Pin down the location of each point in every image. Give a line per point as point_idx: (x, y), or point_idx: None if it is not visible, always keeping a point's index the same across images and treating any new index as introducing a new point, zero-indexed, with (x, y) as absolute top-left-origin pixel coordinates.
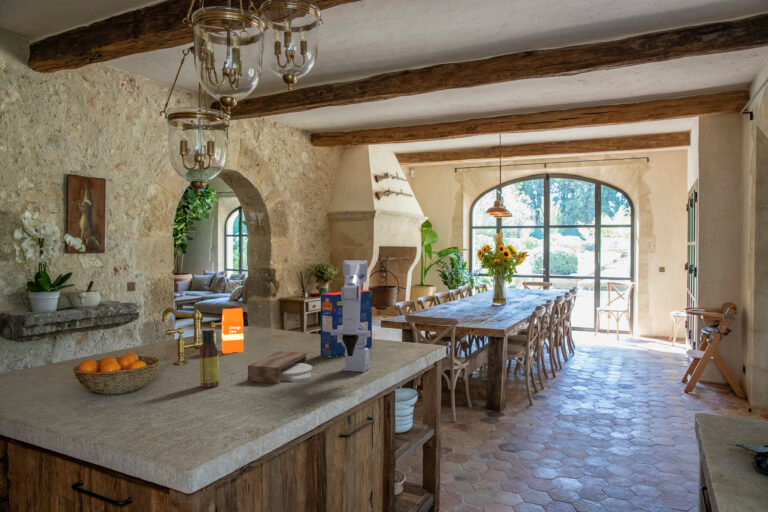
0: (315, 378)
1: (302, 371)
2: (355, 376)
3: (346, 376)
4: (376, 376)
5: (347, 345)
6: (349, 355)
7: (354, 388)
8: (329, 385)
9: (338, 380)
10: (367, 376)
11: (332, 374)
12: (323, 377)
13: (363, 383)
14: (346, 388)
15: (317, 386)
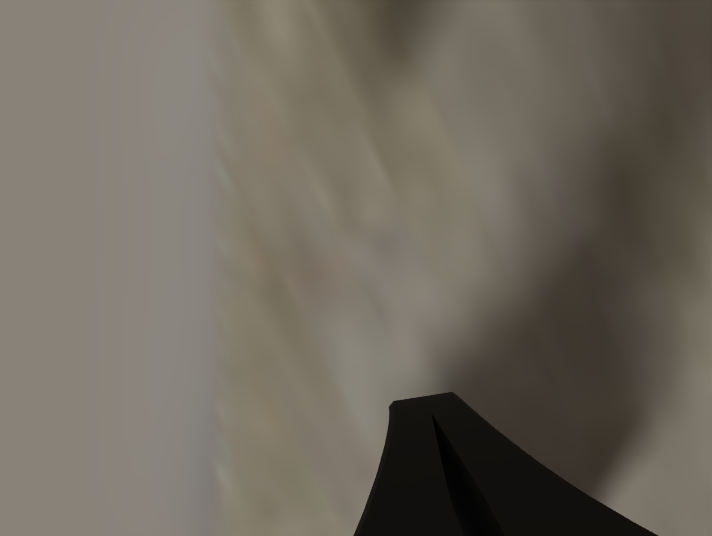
0: (708, 267)
1: None
2: None
3: None
4: (258, 508)
5: (541, 529)
6: (425, 399)
7: (249, 112)
8: (503, 110)
9: (493, 289)
10: (323, 482)
11: (612, 429)
12: (652, 322)
13: (255, 290)
14: (316, 81)
15: (596, 31)
